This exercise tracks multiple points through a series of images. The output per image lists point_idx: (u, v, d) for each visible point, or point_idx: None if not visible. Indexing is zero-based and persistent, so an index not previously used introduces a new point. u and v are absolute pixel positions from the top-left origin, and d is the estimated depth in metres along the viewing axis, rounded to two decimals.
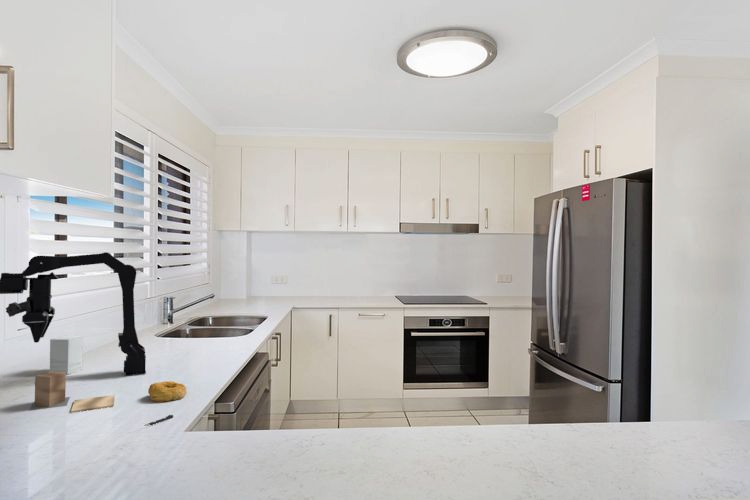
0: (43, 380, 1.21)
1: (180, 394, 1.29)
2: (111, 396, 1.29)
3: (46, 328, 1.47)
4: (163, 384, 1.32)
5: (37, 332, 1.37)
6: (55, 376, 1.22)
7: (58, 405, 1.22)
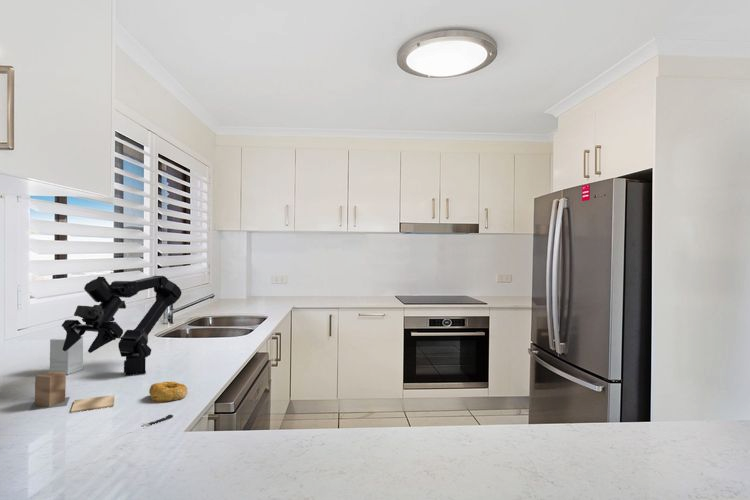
0: (43, 380, 1.21)
1: (181, 394, 1.29)
2: (111, 396, 1.29)
3: (72, 344, 1.36)
4: (164, 384, 1.32)
5: (99, 343, 1.33)
6: (55, 376, 1.22)
7: (58, 405, 1.22)
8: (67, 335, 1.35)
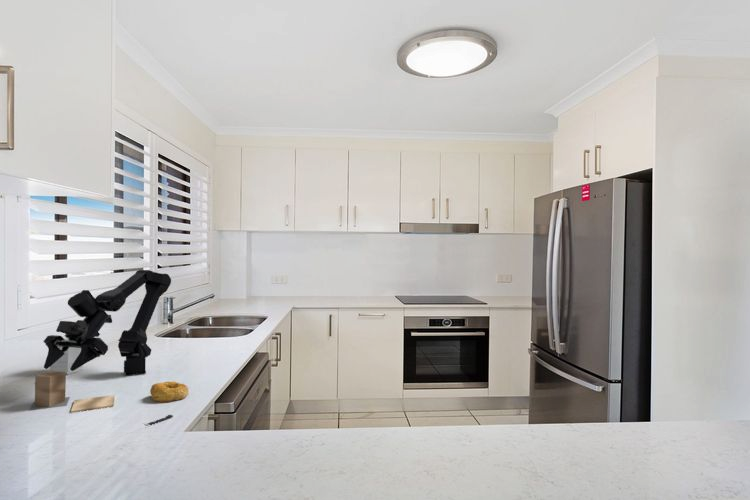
0: (43, 380, 1.21)
1: (182, 394, 1.29)
2: (111, 396, 1.29)
3: (54, 361, 1.30)
4: (165, 384, 1.32)
5: (82, 361, 1.27)
6: (55, 376, 1.22)
7: (58, 405, 1.22)
8: (49, 352, 1.29)
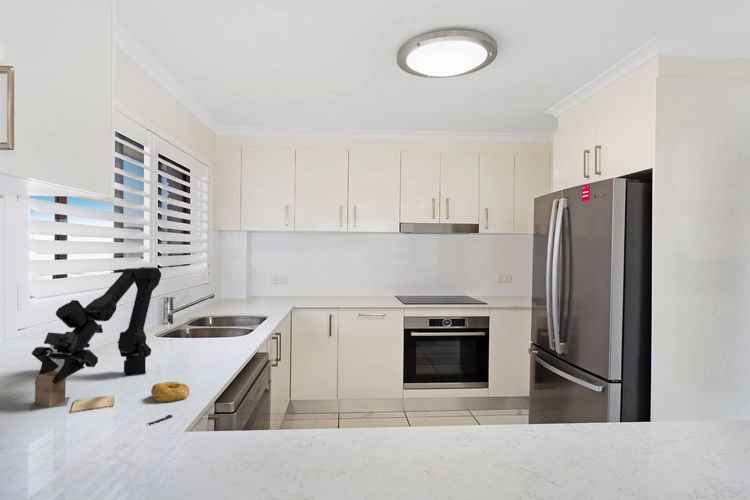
0: (43, 380, 1.21)
1: (183, 394, 1.29)
2: (111, 396, 1.29)
3: None
4: (166, 384, 1.31)
5: (65, 373, 1.24)
6: (55, 376, 1.22)
7: (58, 405, 1.22)
8: (42, 365, 1.25)
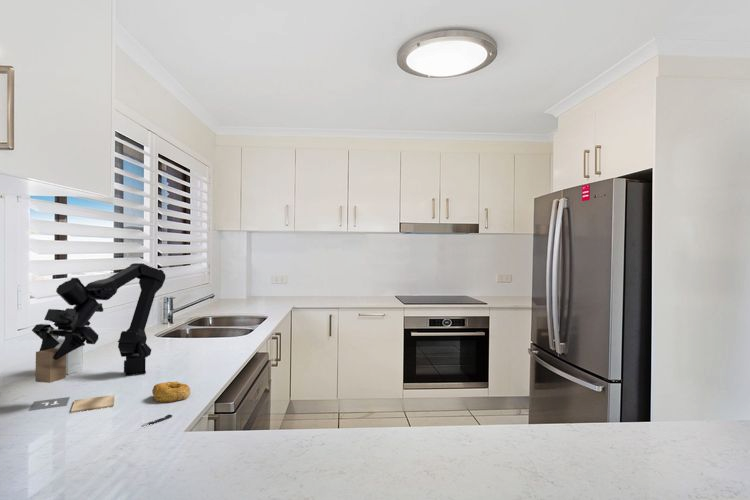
0: (44, 356, 1.21)
1: (184, 394, 1.28)
2: (111, 396, 1.29)
3: None
4: (167, 384, 1.31)
5: (66, 349, 1.24)
6: None
7: (58, 405, 1.22)
8: (43, 341, 1.25)
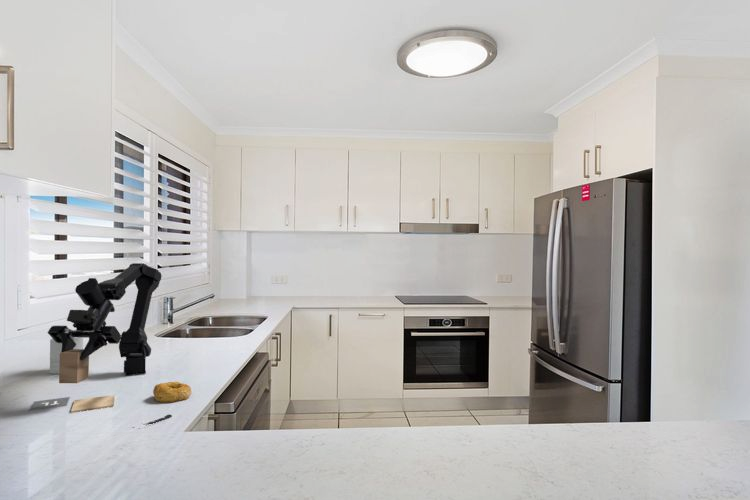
0: (69, 356, 1.20)
1: (185, 394, 1.28)
2: (111, 396, 1.29)
3: None
4: (168, 385, 1.31)
5: (91, 350, 1.24)
6: (81, 353, 1.22)
7: (58, 405, 1.22)
8: (63, 342, 1.24)
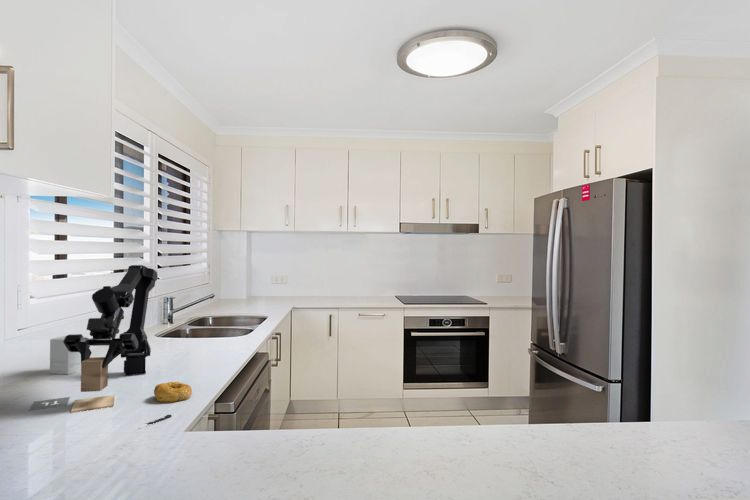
0: (92, 365, 1.21)
1: (186, 395, 1.28)
2: (111, 396, 1.29)
3: None
4: (168, 385, 1.31)
5: (111, 357, 1.26)
6: (103, 360, 1.23)
7: (58, 405, 1.22)
8: (82, 351, 1.24)
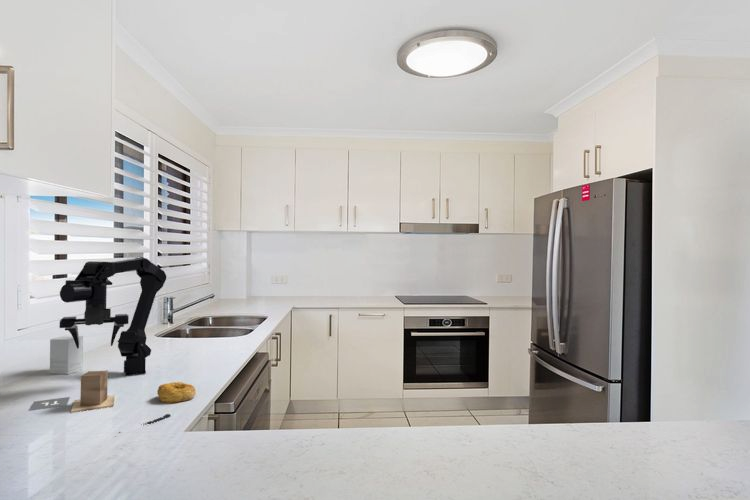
0: (92, 379, 1.21)
1: (190, 395, 1.28)
2: (111, 396, 1.29)
3: (78, 338, 1.39)
4: (172, 385, 1.31)
5: None
6: (102, 374, 1.23)
7: (58, 405, 1.22)
8: (73, 335, 1.36)
